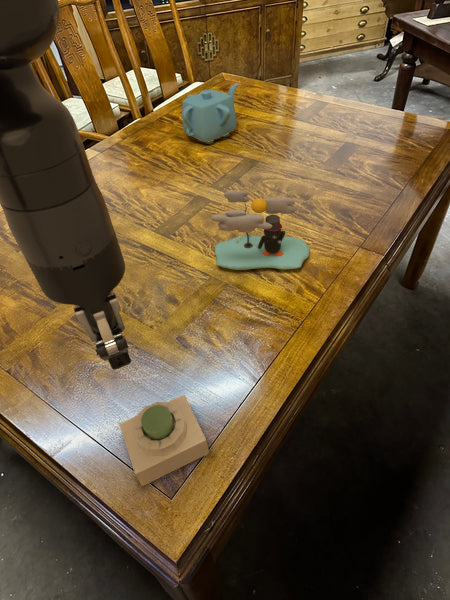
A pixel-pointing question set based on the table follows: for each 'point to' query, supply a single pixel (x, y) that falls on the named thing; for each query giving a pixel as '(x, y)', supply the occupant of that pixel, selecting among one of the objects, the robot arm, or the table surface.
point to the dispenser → (164, 442)
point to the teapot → (209, 114)
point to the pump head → (157, 422)
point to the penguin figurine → (256, 249)
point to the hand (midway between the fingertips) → (120, 362)
